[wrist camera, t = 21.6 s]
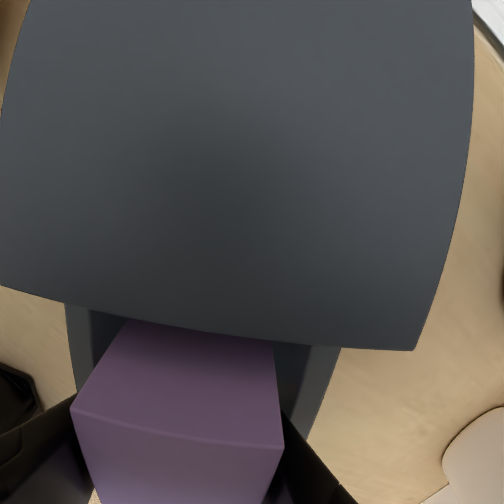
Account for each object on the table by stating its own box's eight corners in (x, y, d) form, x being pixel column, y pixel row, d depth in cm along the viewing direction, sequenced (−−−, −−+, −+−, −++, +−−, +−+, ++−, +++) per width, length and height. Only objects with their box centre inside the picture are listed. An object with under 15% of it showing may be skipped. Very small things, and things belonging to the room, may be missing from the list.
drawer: (264, 457, 17) (269, 548, 11) (132, 436, 17) (103, 521, 10) (333, 189, 13) (411, 221, 6) (132, 160, 12) (35, 167, 6)
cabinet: (329, 248, 15) (414, 352, 6) (121, 217, 14) (-2, 285, 6) (366, -2, 11) (452, -98, 3) (168, -30, 11) (113, -142, 2)
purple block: (134, 413, 10) (100, 504, 6) (129, 314, 9) (67, 408, 5) (249, 432, 10) (250, 531, 6) (272, 336, 9) (286, 448, 5)
